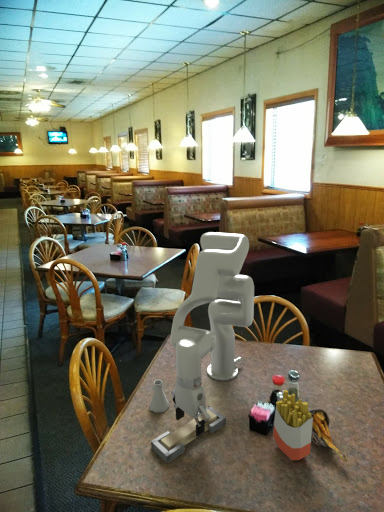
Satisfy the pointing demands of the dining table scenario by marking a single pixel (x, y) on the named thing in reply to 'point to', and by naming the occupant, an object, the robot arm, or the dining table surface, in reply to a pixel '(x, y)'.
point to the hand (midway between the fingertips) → (189, 425)
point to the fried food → (323, 431)
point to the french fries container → (293, 426)
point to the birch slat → (185, 433)
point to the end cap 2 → (219, 422)
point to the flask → (159, 398)
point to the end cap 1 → (163, 452)
